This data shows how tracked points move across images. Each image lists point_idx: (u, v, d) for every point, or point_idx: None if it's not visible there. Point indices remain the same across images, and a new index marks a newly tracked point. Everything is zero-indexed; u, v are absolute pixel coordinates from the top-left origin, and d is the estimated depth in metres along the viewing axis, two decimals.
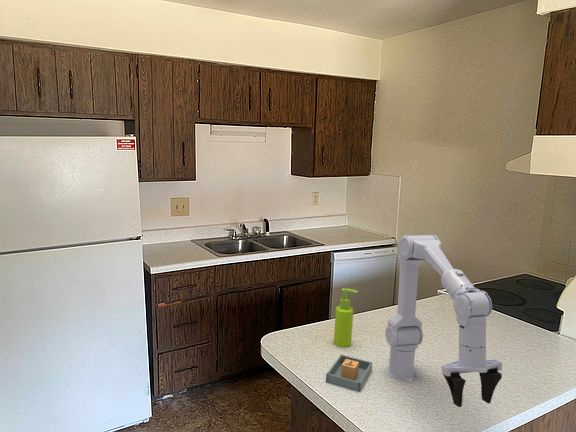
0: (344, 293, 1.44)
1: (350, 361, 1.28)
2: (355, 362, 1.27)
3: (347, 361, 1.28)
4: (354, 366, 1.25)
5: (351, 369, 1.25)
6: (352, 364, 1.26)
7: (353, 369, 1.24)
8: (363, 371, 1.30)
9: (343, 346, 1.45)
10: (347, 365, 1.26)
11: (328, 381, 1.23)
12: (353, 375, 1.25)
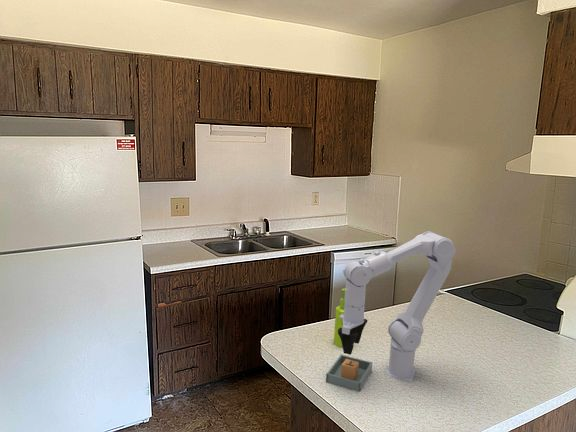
0: (344, 293, 1.44)
1: (350, 361, 1.28)
2: (355, 362, 1.27)
3: (347, 361, 1.28)
4: (354, 366, 1.25)
5: (351, 369, 1.25)
6: (352, 364, 1.26)
7: (353, 369, 1.24)
8: (363, 371, 1.30)
9: None
10: (347, 365, 1.26)
11: (328, 381, 1.23)
12: (353, 375, 1.25)
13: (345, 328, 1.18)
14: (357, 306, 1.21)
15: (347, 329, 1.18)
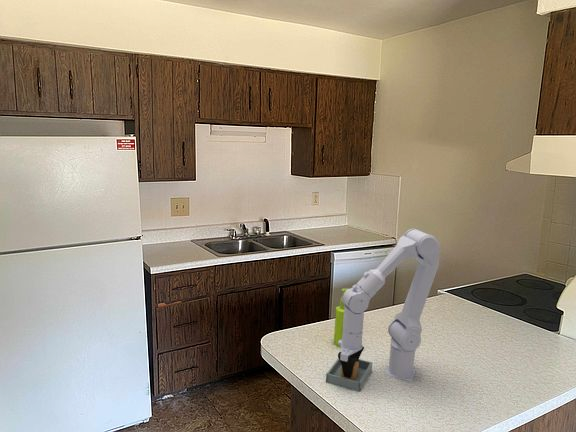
0: None
1: None
2: (355, 362, 1.27)
3: None
4: (354, 366, 1.25)
5: None
6: None
7: (353, 369, 1.24)
8: (363, 371, 1.30)
9: None
10: None
11: (328, 381, 1.23)
12: (353, 375, 1.25)
13: (343, 355, 1.19)
14: (355, 333, 1.22)
15: (345, 356, 1.19)
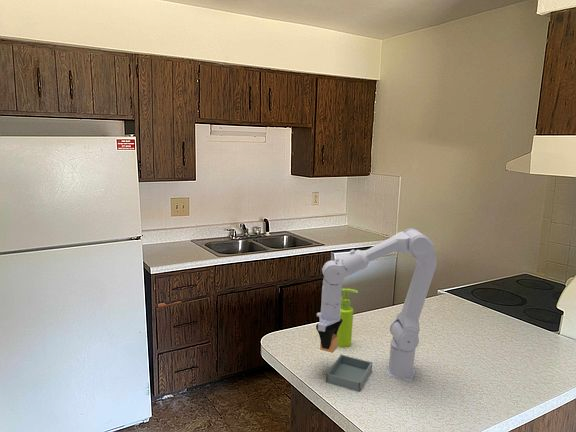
0: (344, 293, 1.44)
1: None
2: (334, 335, 1.29)
3: None
4: (333, 338, 1.27)
5: None
6: None
7: (332, 341, 1.26)
8: (363, 371, 1.30)
9: (343, 346, 1.45)
10: None
11: (328, 381, 1.23)
12: (332, 347, 1.26)
13: (321, 325, 1.21)
14: (331, 304, 1.24)
15: (323, 326, 1.21)
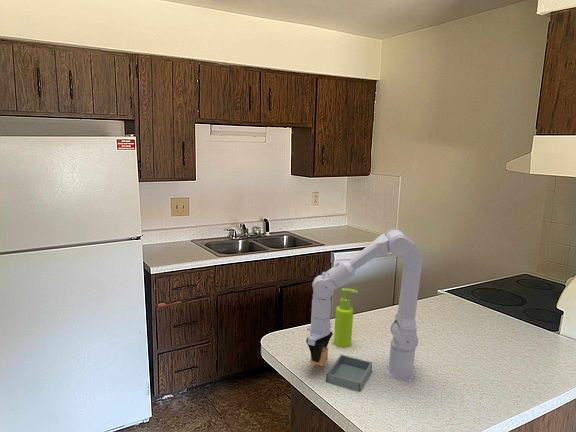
0: (344, 293, 1.44)
1: None
2: (324, 348, 1.31)
3: None
4: (323, 351, 1.29)
5: None
6: None
7: (322, 354, 1.28)
8: (363, 371, 1.30)
9: (343, 346, 1.45)
10: None
11: (328, 381, 1.23)
12: (322, 360, 1.28)
13: (310, 339, 1.23)
14: (320, 318, 1.26)
15: (312, 340, 1.23)
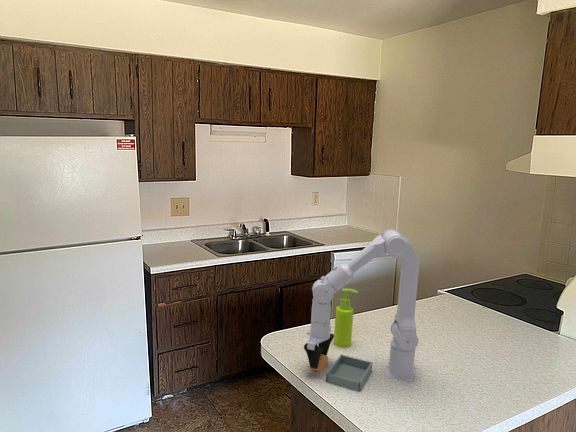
0: (344, 293, 1.44)
1: None
2: (324, 356, 1.32)
3: None
4: (322, 360, 1.29)
5: (319, 362, 1.29)
6: (321, 358, 1.30)
7: (321, 362, 1.29)
8: (363, 371, 1.30)
9: (343, 346, 1.45)
10: None
11: (328, 381, 1.23)
12: (321, 368, 1.29)
13: (310, 344, 1.23)
14: (320, 322, 1.26)
15: (312, 345, 1.23)
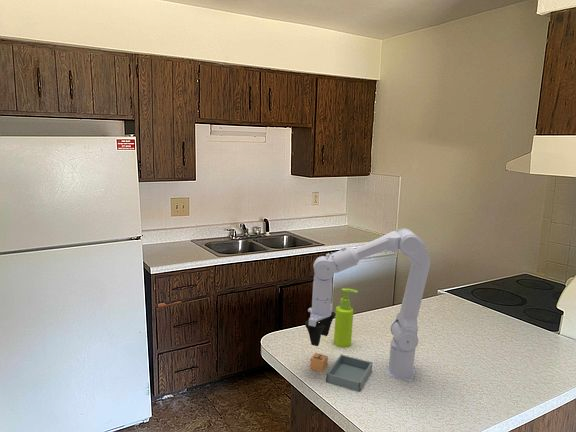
0: (344, 293, 1.44)
1: (319, 355, 1.32)
2: (324, 356, 1.32)
3: (317, 355, 1.32)
4: (322, 360, 1.29)
5: (319, 362, 1.29)
6: (321, 358, 1.30)
7: (321, 362, 1.29)
8: (363, 371, 1.30)
9: (343, 346, 1.45)
10: (316, 359, 1.30)
11: (328, 381, 1.23)
12: (321, 368, 1.29)
13: (311, 320, 1.22)
14: (321, 299, 1.25)
15: (313, 321, 1.22)
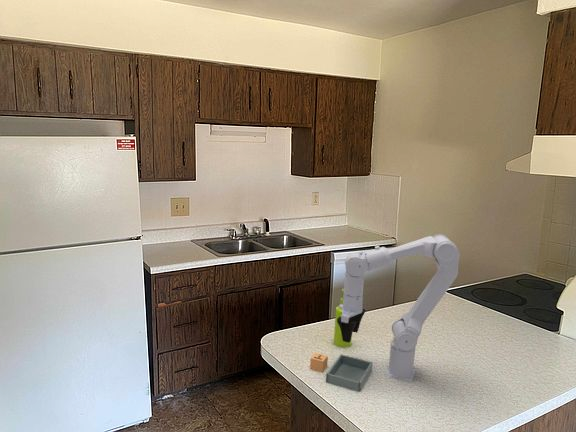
0: None
1: (319, 355, 1.32)
2: (324, 356, 1.32)
3: (317, 355, 1.32)
4: (322, 360, 1.29)
5: (319, 362, 1.29)
6: (321, 358, 1.30)
7: (321, 362, 1.29)
8: (363, 371, 1.30)
9: (343, 346, 1.45)
10: (316, 359, 1.30)
11: (328, 381, 1.23)
12: (321, 368, 1.29)
13: (344, 317, 1.23)
14: (352, 296, 1.26)
15: (346, 318, 1.23)
